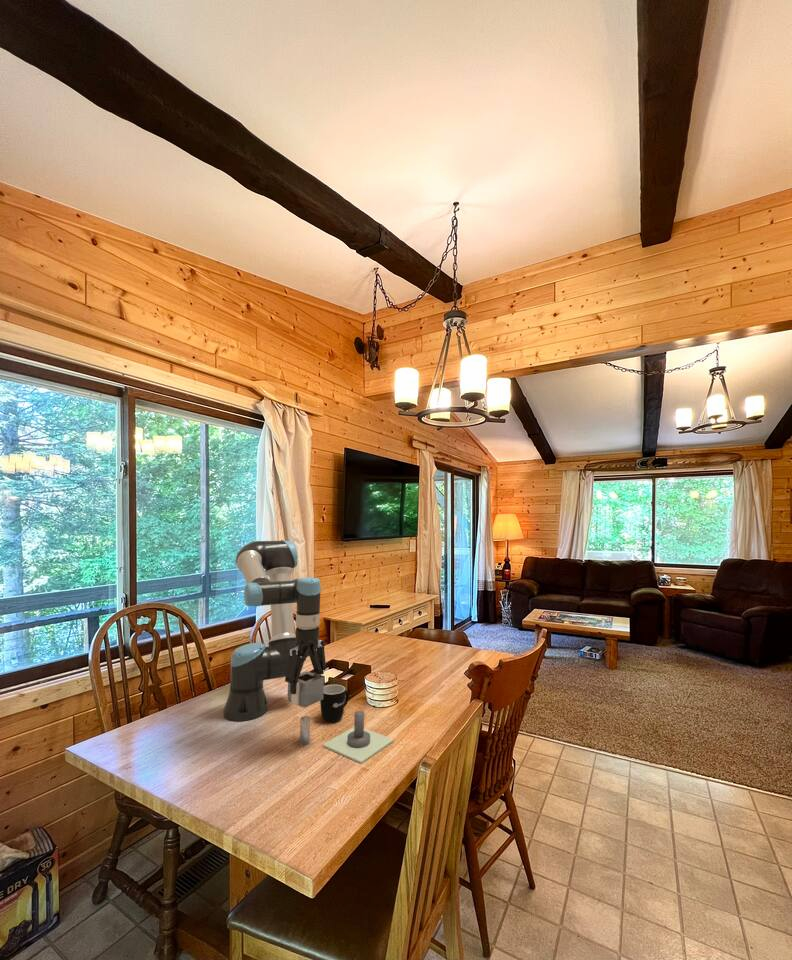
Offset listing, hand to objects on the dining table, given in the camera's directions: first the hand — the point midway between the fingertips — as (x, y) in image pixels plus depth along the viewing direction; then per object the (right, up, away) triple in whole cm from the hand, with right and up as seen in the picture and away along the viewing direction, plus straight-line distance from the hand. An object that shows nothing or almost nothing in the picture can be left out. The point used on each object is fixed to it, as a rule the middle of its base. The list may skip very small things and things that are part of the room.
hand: (305, 699), depth 139 cm
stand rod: (0, -13, -1) cm, 13 cm away
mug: (+7, -15, +17) cm, 24 cm away
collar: (0, 0, 0) cm, 0 cm away
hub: (+17, -13, -2) cm, 22 cm away
